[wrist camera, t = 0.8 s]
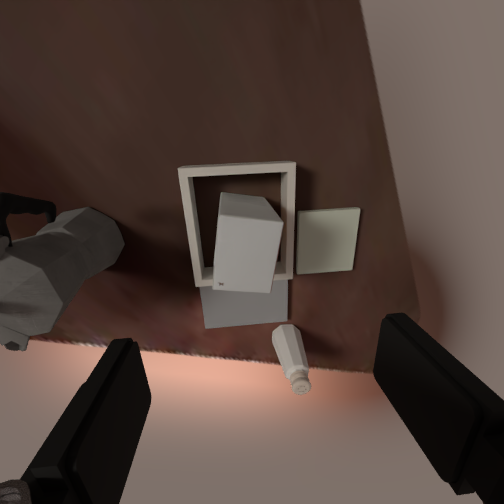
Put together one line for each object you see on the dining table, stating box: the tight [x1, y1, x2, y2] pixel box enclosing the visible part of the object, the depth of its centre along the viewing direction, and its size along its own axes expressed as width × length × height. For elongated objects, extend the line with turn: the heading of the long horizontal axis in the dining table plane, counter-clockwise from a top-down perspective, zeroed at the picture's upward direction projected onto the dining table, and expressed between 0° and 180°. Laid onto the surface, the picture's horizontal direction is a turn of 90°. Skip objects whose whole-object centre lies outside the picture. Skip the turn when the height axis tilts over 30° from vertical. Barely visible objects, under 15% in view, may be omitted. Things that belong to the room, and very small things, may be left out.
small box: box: [212, 192, 284, 293], centre depth 30 cm, size 8×6×13 cm
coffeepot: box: [0, 192, 125, 351], centre depth 26 cm, size 15×9×18 cm, turn 168°
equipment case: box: [178, 161, 296, 329], centre depth 36 cm, size 26×14×4 cm, turn 3°
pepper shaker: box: [272, 324, 311, 395], centre depth 40 cm, size 5×5×11 cm
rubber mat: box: [296, 207, 360, 274], centre depth 38 cm, size 10×9×1 cm
